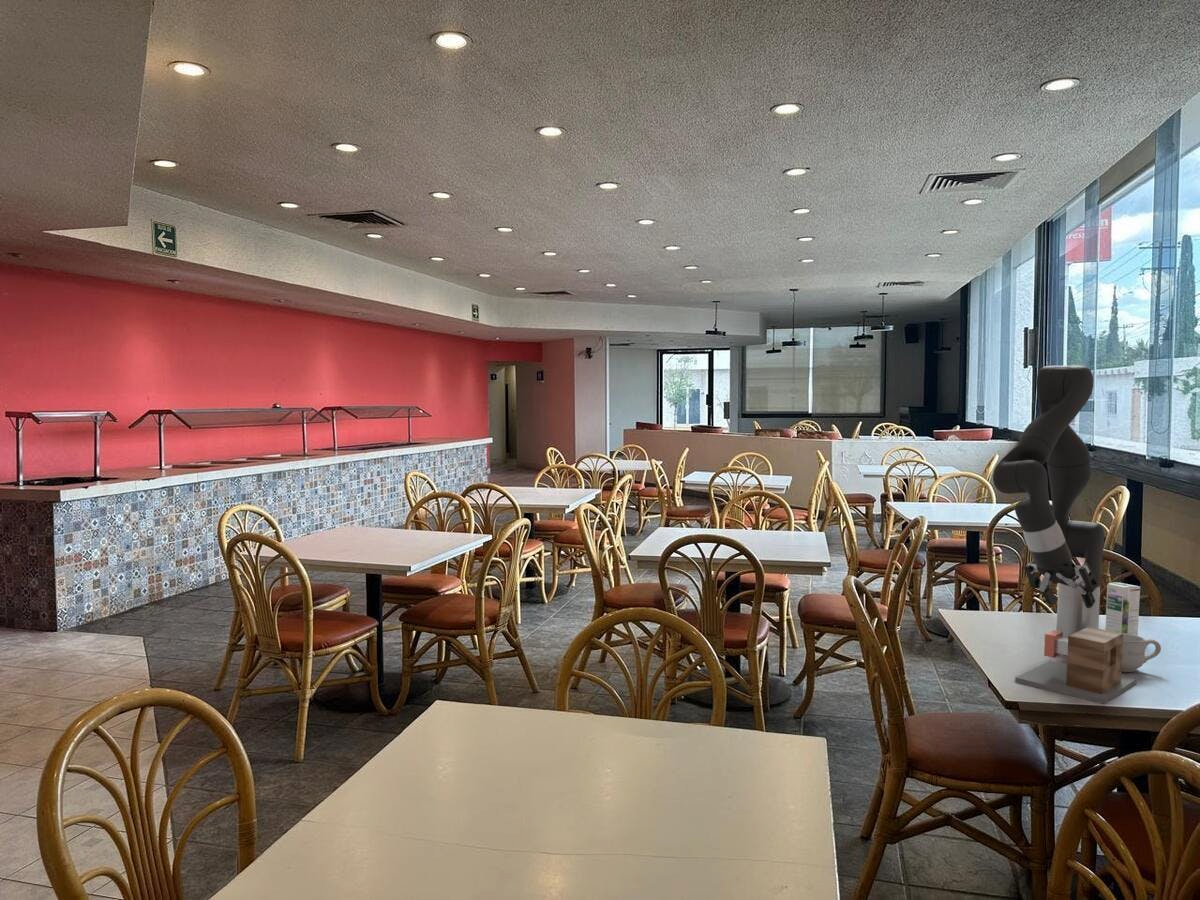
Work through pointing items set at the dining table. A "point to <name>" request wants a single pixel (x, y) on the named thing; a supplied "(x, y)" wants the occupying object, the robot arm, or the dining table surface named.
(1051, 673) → the base mat
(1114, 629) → the syrup box
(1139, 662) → the teacup
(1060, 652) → the red headed square peg
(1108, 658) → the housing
